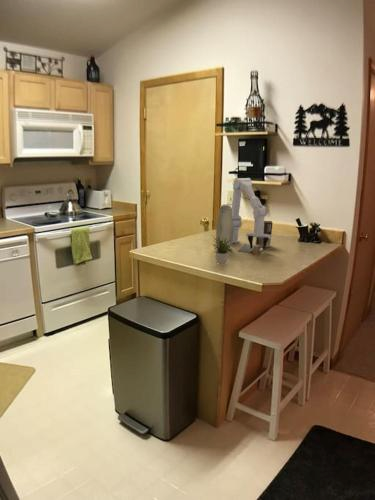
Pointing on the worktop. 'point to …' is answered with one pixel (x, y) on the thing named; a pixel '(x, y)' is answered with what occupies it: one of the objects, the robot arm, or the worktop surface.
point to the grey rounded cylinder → (225, 225)
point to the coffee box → (266, 231)
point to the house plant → (221, 251)
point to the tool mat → (246, 248)
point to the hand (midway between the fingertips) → (257, 248)
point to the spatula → (257, 249)
